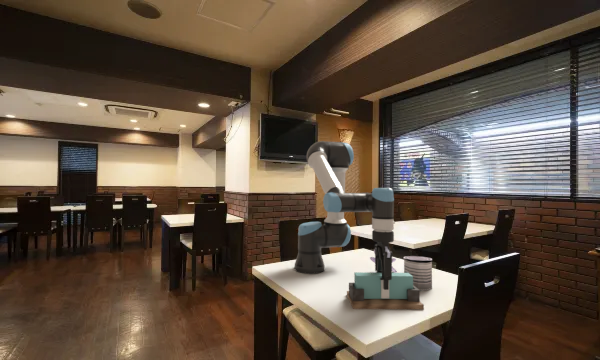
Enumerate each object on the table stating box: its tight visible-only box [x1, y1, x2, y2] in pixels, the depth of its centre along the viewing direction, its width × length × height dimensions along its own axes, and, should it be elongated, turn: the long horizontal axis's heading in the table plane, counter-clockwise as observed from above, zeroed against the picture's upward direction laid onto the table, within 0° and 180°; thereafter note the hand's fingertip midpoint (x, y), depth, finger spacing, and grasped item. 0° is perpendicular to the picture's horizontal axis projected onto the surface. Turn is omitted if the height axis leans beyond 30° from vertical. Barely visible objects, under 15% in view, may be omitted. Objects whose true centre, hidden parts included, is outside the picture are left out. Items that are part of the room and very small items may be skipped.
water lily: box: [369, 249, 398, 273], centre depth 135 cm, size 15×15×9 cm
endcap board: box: [346, 282, 425, 310], centre depth 98 cm, size 24×12×6 cm, turn 90°
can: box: [403, 255, 433, 291], centre depth 115 cm, size 11×11×12 cm
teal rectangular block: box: [353, 272, 413, 299], centre depth 98 cm, size 20×4×8 cm, turn 90°
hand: (383, 295), depth 98 cm, fingers closed on teal rectangular block, 4 cm apart
